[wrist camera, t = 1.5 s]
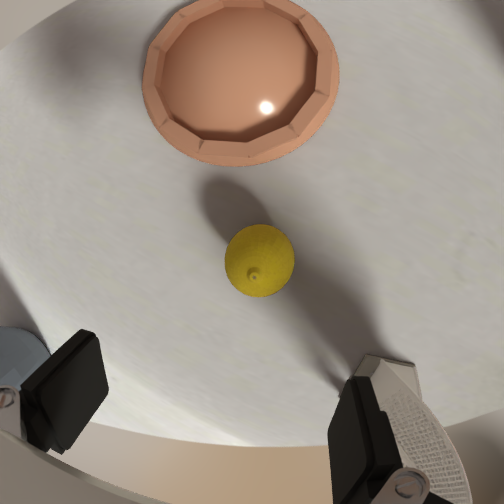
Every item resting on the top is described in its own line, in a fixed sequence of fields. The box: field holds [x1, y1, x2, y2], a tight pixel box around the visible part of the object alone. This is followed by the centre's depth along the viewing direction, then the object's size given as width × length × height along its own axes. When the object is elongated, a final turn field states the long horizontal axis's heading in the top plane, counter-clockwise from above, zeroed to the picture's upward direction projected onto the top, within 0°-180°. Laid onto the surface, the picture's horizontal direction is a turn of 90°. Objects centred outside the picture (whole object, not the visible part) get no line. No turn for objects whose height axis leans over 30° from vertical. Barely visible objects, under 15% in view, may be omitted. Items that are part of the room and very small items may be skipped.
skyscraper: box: [340, 354, 473, 504], centre depth 18 cm, size 8×8×28 cm
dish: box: [142, 0, 339, 167], centre depth 23 cm, size 18×18×2 cm
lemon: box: [225, 224, 295, 297], centre depth 24 cm, size 6×6×8 cm
